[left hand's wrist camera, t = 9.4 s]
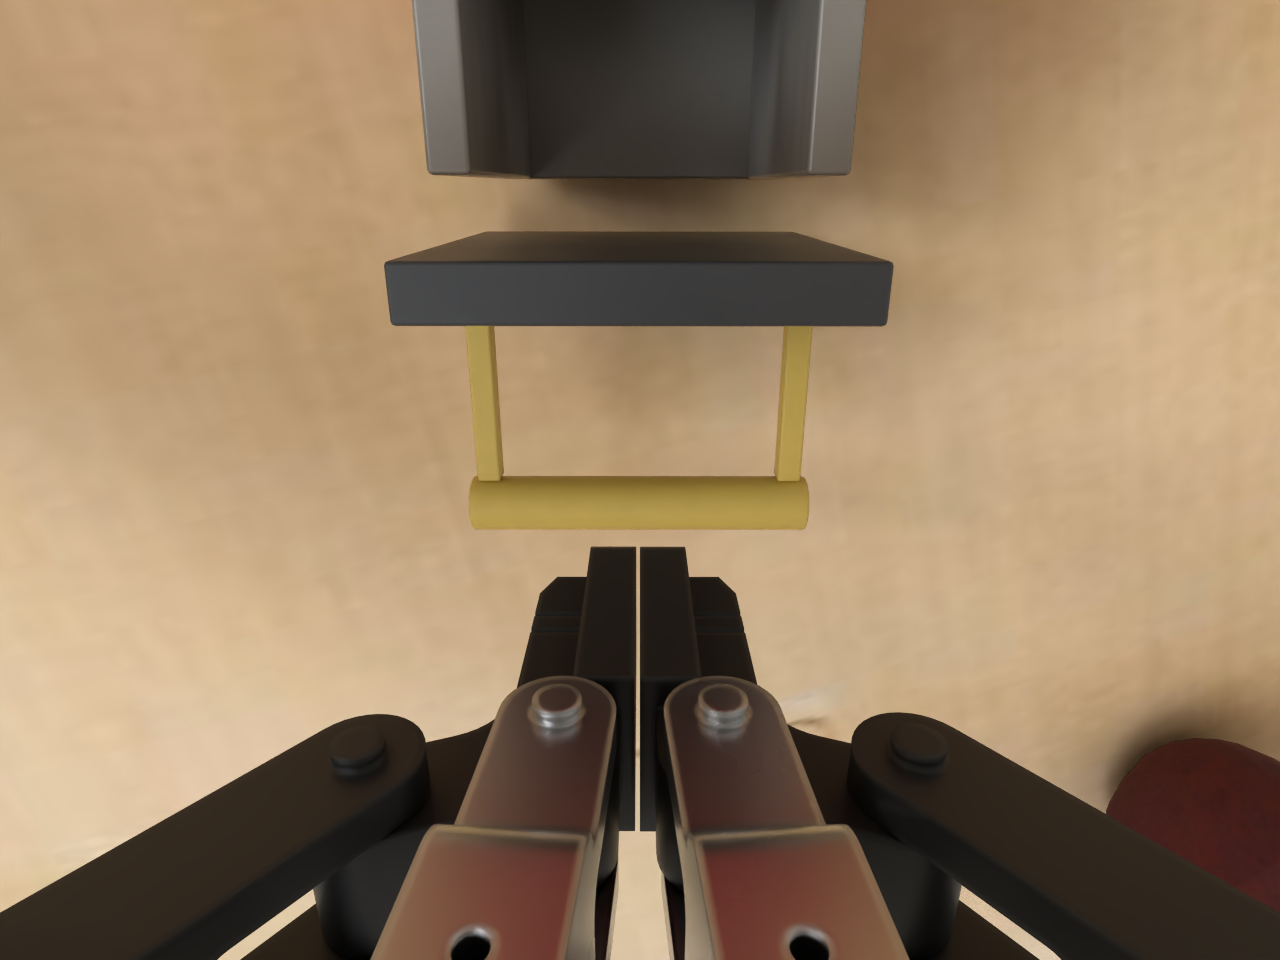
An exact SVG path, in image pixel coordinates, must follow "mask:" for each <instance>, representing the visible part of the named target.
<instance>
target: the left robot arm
mask: <svg viewBox="0 0 1280 960" xmlns="http://www.w3.org/2000/svg"><path fill="white" fill-rule="evenodd" d="M635 757H636V547H591V550H590V557H589V565H588V572H587V577H557V578H556V579H555V580H554V581H553V582H552V583H551V584H550V585H548V586H547V587H546V588H545V589H544V590H543V591H542V592H541V593H540V596H539V600H538V604H537V608H536V612H535V616H534V620H533V625H532V632H531V633H530V637H529V641H528V645H527V649H526V653H525V657H524V661H523V665H522V669H521V673H520V677H519V681H518V686H517V689H515V690H514V691H513V692H511V693H510V694H509V695H508V696H507V697H506V698H505V699H504V701H503V702H502V704H501V706H500V708H499V710H498V713H497V715H496V718H495V719H494V720H493V721H491V722H490V723H488V724H486V725H484V726H482V727H480V728H478V729H476V730H473V731H470V732H468V733H464V734H461V735H457V736H453V737H449V738H444V739H440V740H435V741H431V742H425V738H424V735H423V732H422V731H421V730H420V728H419V727H418V726H417V725H415V724H414V723H413V722H411V721H409V720H407V719H405V718H402V717H399V716H394V715H388V714H373V715H364V716H358V717H354V718H350V719H347V720H344V721H341V722H339V723H336V724H334V725H332V726H330V727H328V728H326V729H324V730H322V731H320V732H318V733H317V734H315V735H313V736H311V737H310V738H308V739H306V740H304V741H303V742H301V743H299V744H297V745H295V746H294V747H292V748H290V749H288V750H287V751H285V752H283V753H281V754H280V755H278V756H276V757H274V758H273V759H271V760H269V761H267V762H265V763H264V764H262V765H260V766H258V767H257V768H255V769H253V770H251V771H250V772H248V773H246V774H244V775H243V776H241V777H239V778H237V779H235V780H234V781H232V782H230V783H228V784H227V785H225V786H223V787H221V788H220V789H218V790H216V791H214V792H213V793H211V794H209V795H207V796H205V797H204V798H202V799H200V800H198V801H197V802H195V803H193V804H191V805H190V806H188V807H186V808H184V809H182V810H181V811H179V812H177V813H175V814H174V815H172V816H170V817H168V818H167V819H165V820H163V821H161V822H160V823H158V824H156V825H154V826H152V827H151V828H149V829H147V830H145V831H144V832H142V833H140V834H138V835H137V836H135V837H133V838H131V839H130V840H128V841H126V842H124V843H122V844H121V845H119V846H117V847H115V848H114V849H112V850H110V851H108V852H107V853H105V854H103V855H101V856H100V857H98V858H96V859H94V860H92V861H91V862H89V863H87V864H85V865H84V866H82V867H80V868H78V869H77V870H75V871H73V872H71V873H69V874H68V875H66V876H64V877H62V878H61V879H59V880H57V881H55V882H54V883H52V884H50V885H48V886H47V887H45V888H43V889H41V890H39V891H38V892H36V893H34V894H32V895H31V896H29V897H27V898H25V899H24V900H22V901H20V902H18V903H17V904H15V905H13V906H11V907H9V908H8V909H6V910H4V911H2V912H1V913H0V960H217V959H218V958H219V957H220V956H222V955H223V954H224V953H225V952H227V951H228V950H229V949H230V948H232V947H233V946H235V945H236V944H237V943H239V942H240V941H241V940H243V939H244V938H246V937H247V936H248V935H250V934H251V933H253V932H254V931H255V930H257V929H258V928H259V927H261V926H262V925H264V924H265V923H266V922H268V921H269V920H270V919H272V918H273V917H275V916H276V915H277V914H279V913H280V912H282V911H283V910H284V909H286V908H287V907H288V906H290V905H291V904H293V903H294V902H295V901H297V900H298V899H299V898H301V897H302V896H304V895H305V894H306V893H308V892H309V891H311V890H312V889H313V890H314V895H315V900H316V904H315V905H313V906H312V907H311V908H309V909H308V910H307V911H305V912H304V913H303V914H301V915H300V916H299V917H297V918H296V919H295V920H293V921H292V922H291V923H289V924H288V925H286V926H285V927H284V928H282V929H281V930H280V931H278V932H277V933H276V934H274V935H273V936H272V937H270V938H269V939H268V940H266V941H265V942H264V943H262V944H261V945H260V946H258V947H257V948H255V949H254V950H253V951H251V952H250V953H249V954H247V955H246V956H245V957H243V958H242V959H241V960H610V956H611V948H612V939H613V931H614V922H615V914H616V905H617V897H618V842H619V831H635ZM640 831H656V854H657V861H658V864H659V867H660V869H661V871H662V897H663V905H664V914H665V922H666V931H667V939H668V948H669V956H670V960H1039V959H1038V958H1037V957H1035V956H1034V955H1033V954H1031V953H1030V952H1029V951H1027V950H1026V949H1024V948H1023V947H1022V946H1020V945H1019V944H1018V943H1016V942H1015V941H1014V940H1012V939H1011V938H1010V937H1008V936H1007V935H1006V934H1004V933H1003V932H1002V931H1000V930H999V929H998V928H996V927H995V926H993V925H992V924H991V923H989V922H988V921H987V920H985V919H984V918H983V917H981V916H980V915H979V914H977V913H976V912H975V911H973V910H972V909H971V908H969V907H968V906H967V905H965V904H964V903H962V902H961V901H960V900H959V896H960V891H961V886H962V885H963V886H964V887H965V888H967V889H968V890H969V891H971V892H972V893H974V894H975V895H976V896H978V897H979V898H981V899H982V900H983V901H985V902H986V903H987V904H989V905H990V906H992V907H993V908H994V909H996V910H997V911H998V912H1000V913H1001V914H1003V915H1004V916H1005V917H1007V918H1008V919H1009V920H1011V921H1012V922H1014V923H1015V924H1016V925H1018V926H1019V927H1021V928H1022V929H1023V930H1025V931H1026V932H1027V933H1029V934H1030V935H1032V936H1033V937H1034V938H1036V939H1037V940H1038V941H1040V942H1041V943H1043V944H1044V945H1045V946H1047V947H1048V948H1049V949H1051V950H1052V951H1053V952H1054V953H1055V954H1056V955H1057V956H1058V957H1059V958H1060V959H1061V960H1280V913H1279V912H1278V911H1276V910H1274V909H1272V908H1271V907H1269V906H1267V905H1265V904H1263V903H1262V902H1260V901H1258V900H1256V899H1255V898H1253V897H1251V896H1249V895H1248V894H1246V893H1244V892H1242V891H1240V890H1239V889H1237V888H1235V887H1233V886H1232V885H1230V884H1228V883H1226V882H1225V881H1223V880H1221V879H1219V878H1218V877H1216V876H1214V875H1212V874H1210V873H1209V872H1207V871H1205V870H1203V869H1202V868H1200V867H1198V866H1196V865H1195V864H1193V863H1191V862H1189V861H1188V860H1186V859H1184V858H1182V857H1180V856H1179V855H1177V854H1175V853H1173V852H1172V851H1170V850H1168V849H1166V848H1165V847H1163V846H1161V845H1159V844H1158V843H1156V842H1154V841H1152V840H1150V839H1149V838H1147V837H1145V836H1143V835H1142V834H1140V833H1138V832H1136V831H1135V830H1133V829H1131V828H1129V827H1127V826H1126V825H1124V824H1122V823H1120V822H1119V821H1117V820H1115V819H1113V818H1112V817H1110V816H1108V815H1106V814H1105V813H1103V812H1101V811H1099V810H1097V809H1096V808H1094V807H1092V806H1090V805H1089V804H1087V803H1085V802H1083V801H1082V800H1080V799H1078V798H1076V797H1075V796H1073V795H1071V794H1069V793H1067V792H1066V791H1064V790H1062V789H1060V788H1059V787H1057V786H1055V785H1053V784H1052V783H1050V782H1048V781H1046V780H1045V779H1043V778H1041V777H1039V776H1037V775H1036V774H1034V773H1032V772H1030V771H1029V770H1027V769H1025V768H1023V767H1022V766H1020V765H1018V764H1016V763H1014V762H1013V761H1011V760H1009V759H1007V758H1006V757H1004V756H1002V755H1000V754H999V753H997V752H995V751H993V750H992V749H990V748H988V747H986V746H984V745H983V744H981V743H979V742H977V741H976V740H974V739H972V738H970V737H969V736H967V735H965V734H963V733H962V732H960V731H958V730H956V729H954V728H953V727H951V726H949V725H947V724H945V723H943V722H940V721H938V720H935V719H932V718H929V717H925V716H922V715H917V714H911V713H900V712H899V713H885V714H879V715H876V716H873V717H870V718H868V719H867V720H865V721H863V722H862V723H861V724H860V725H858V727H857V728H856V730H855V731H854V733H853V736H852V742H851V743H847V742H842V741H838V740H833V739H829V738H825V737H820V736H816V735H813V734H809V733H806V732H803V731H801V730H798V729H796V728H794V727H792V726H790V725H788V724H787V723H786V720H785V718H784V715H783V713H782V710H781V708H780V706H779V704H778V702H777V701H776V699H775V698H774V697H773V696H772V695H771V694H770V693H769V692H767V691H766V690H765V689H763V688H762V687H760V686H758V685H757V682H756V677H755V673H754V669H753V665H752V660H751V656H750V652H749V648H748V643H747V639H746V635H745V633H744V626H743V622H742V618H741V617H740V609H739V605H738V601H737V597H736V593H735V592H734V591H733V590H732V589H730V588H729V587H728V586H727V585H726V584H725V583H724V582H723V581H722V580H721V579H720V578H719V577H689V574H688V566H687V558H686V550H685V547H640Z"/></svg>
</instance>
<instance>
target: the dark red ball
mask: <svg viewBox="0 0 1280 960" xmlns="http://www.w3.org/2000/svg"><path fill="white" fill-rule="evenodd" d="M1106 815H1108V816H1110V817H1112V818H1113V819H1115V820H1117V821H1119V822H1120V823H1122V824H1124V825H1126V826H1127V827H1129V828H1131V829H1133V830H1135V831H1136V832H1138V833H1140V834H1142V835H1143V836H1145V837H1147V838H1149V839H1150V840H1152V841H1154V842H1156V843H1158V844H1159V845H1161V846H1163V847H1165V848H1166V849H1168V850H1170V851H1172V852H1173V853H1175V854H1177V855H1179V856H1180V857H1182V858H1184V859H1186V860H1188V861H1189V862H1191V863H1193V864H1195V865H1196V866H1198V867H1200V868H1202V869H1203V870H1205V871H1207V872H1209V873H1210V874H1212V875H1214V876H1216V877H1218V878H1219V879H1221V880H1223V881H1225V882H1226V883H1228V884H1230V885H1232V886H1233V887H1235V888H1237V889H1239V890H1240V891H1242V892H1244V893H1246V894H1248V895H1249V896H1251V897H1253V898H1255V899H1256V900H1258V901H1260V902H1262V903H1263V904H1265V905H1267V906H1269V907H1271V908H1272V909H1274V910H1276V911H1278V912H1279V913H1280V762H1279V761H1277V760H1275V759H1274V758H1271V757H1269V756H1267V755H1264V754H1262V753H1259V752H1257V751H1255V750H1252V749H1250V748H1247V747H1245V746H1242V745H1240V744H1237V743H1232V742H1227V741H1223V740H1216V739H1199V738H1193V739H1187V740H1181V741H1174V742H1170V743H1168V744H1166V745H1164V746H1162V747H1160V748H1158V749H1156V750H1154V751H1153V752H1151V753H1149V754H1147V755H1145V756H1144V757H1143V758H1142V759H1141V760H1140V761H1139V762H1138V764H1137V765H1136V766H1135V767H1134V768H1133V769H1132V770H1131V771H1130V772H1129V773H1128V775H1127V776H1126V777H1125V778H1124V779H1123V780H1122V781H1121V783H1120V785H1119V786H1118V788H1117V790H1116V792H1115V793H1114V795H1113V797H1112V798H1111V800H1110V802H1109V805H1108V807H1107V810H1106Z"/></svg>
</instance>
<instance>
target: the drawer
mask: <svg viewBox="0 0 1280 960" xmlns="http://www.w3.org/2000/svg"><path fill="white" fill-rule="evenodd" d="M412 8H413V19H414V30H415V41H416V52H417V63H418V74H419V85H420V95H421V106H422V117H423V128H424V139H425V150H426V161H427V170H428V172H429V173H430V174H432V175H446V176H465V177H483V178H502V179H782V178H801V177H820V176H839V175H847V174H849V172H850V170H851V160H852V149H853V139H854V128H855V117H856V106H857V95H858V84H859V74H860V63H861V52H862V41H863V30H864V19H865V8H866V0H412ZM893 267H894V266H893V263H892V262H890V261H886V260H883V259H880V258H877V257H873V256H870V255H867V254H863V253H860V252H857V251H853V250H850V249H847V248H843V247H840V246H837V245H834V244H830V243H827V242H824V241H820V240H817V239H814V238H810V237H807V236H804V235H801V234H797V233H794V232H484V233H480V234H477V235H474V236H470V237H467V238H464V239H460V240H457V241H454V242H450V243H447V244H443V245H440V246H437V247H433V248H430V249H427V250H423V251H420V252H417V253H413V254H410V255H407V256H403V257H400V258H397V259H393V260H390V261H387V262H385V265H384V269H385V277H386V286H387V295H388V303H389V312H390V321H391V323H392V325H395V326H466V337H467V349H468V362H469V374H470V386H471V399H472V411H473V424H474V436H475V449H476V461H477V474H478V476H476V477H474V478H473V479H472V482H471V486H470V492H469V515H470V521H471V524H472V527H473V528H474V529H617V530H802V529H804V528H805V527H806V524H807V521H808V515H809V492H808V486H807V482H806V480H805V478H804V477H802V476H800V474H801V461H802V449H803V437H804V425H805V412H806V400H807V388H808V375H809V363H810V351H811V338H812V326H884V325H886V323H887V318H888V310H889V301H890V292H891V284H892V275H893ZM494 326H784V337H783V352H782V366H781V381H780V396H779V410H778V425H777V440H776V454H775V469H774V473H775V476H502V475H503V473H504V468H503V453H502V439H501V424H500V409H499V394H498V379H497V364H496V349H495V334H494Z"/></svg>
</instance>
